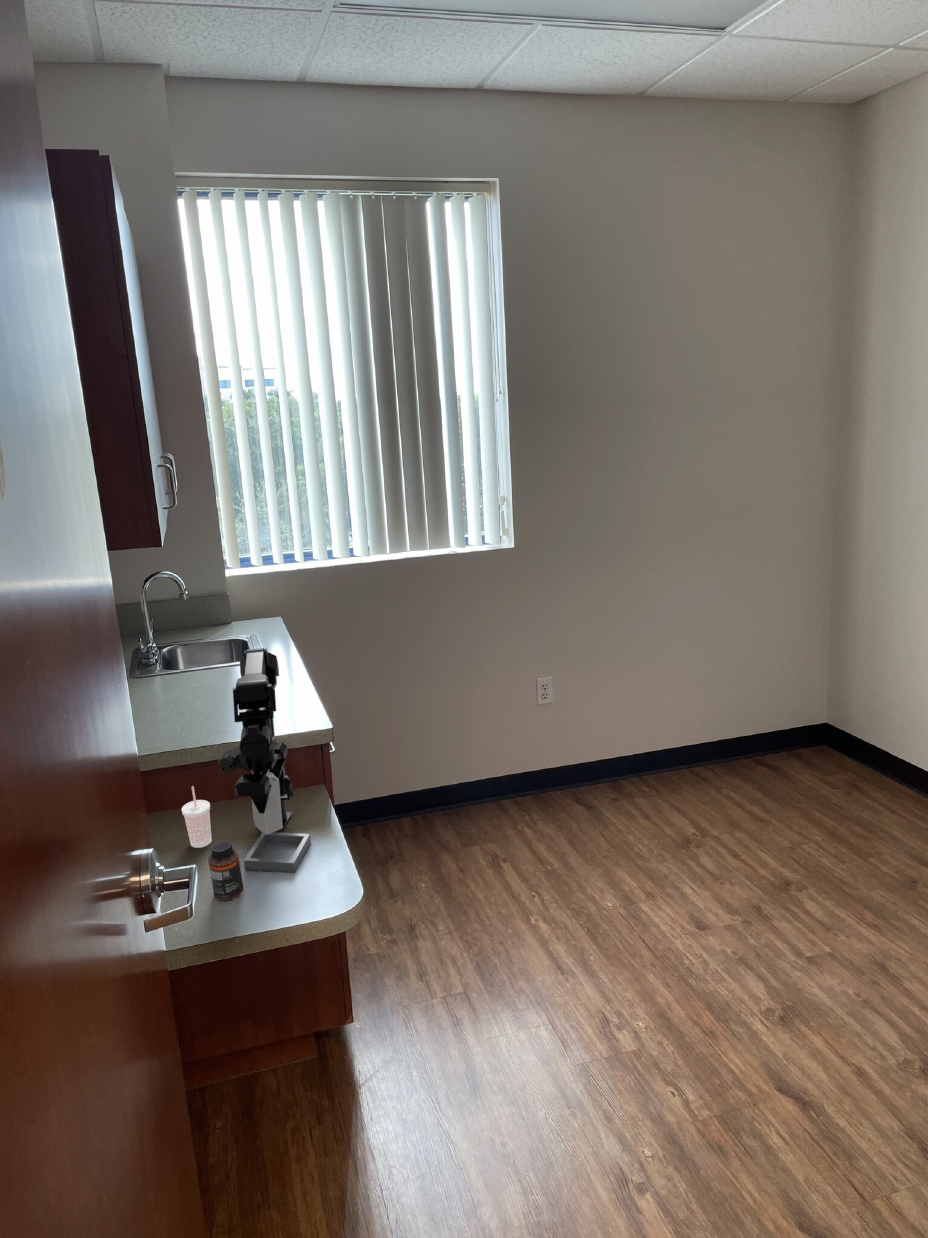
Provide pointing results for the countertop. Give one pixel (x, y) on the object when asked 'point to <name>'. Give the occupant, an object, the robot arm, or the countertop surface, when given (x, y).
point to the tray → (277, 852)
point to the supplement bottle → (225, 871)
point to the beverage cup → (198, 821)
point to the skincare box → (270, 809)
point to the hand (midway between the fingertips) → (266, 803)
